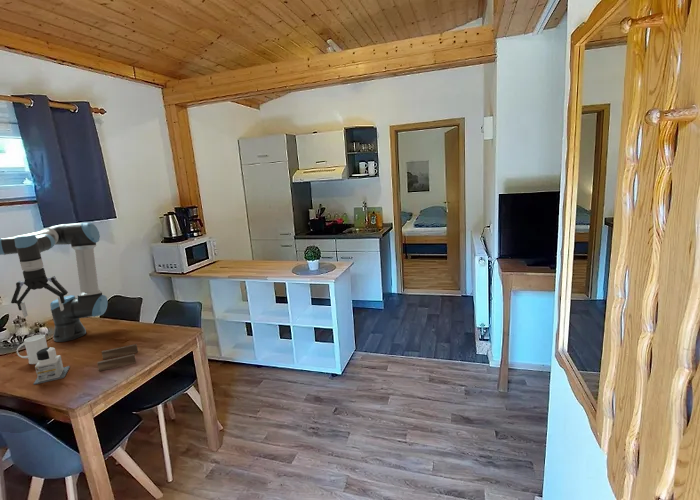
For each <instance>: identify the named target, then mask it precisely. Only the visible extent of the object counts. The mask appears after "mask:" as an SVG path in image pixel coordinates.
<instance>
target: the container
mask: <svg viewBox="0 0 700 500" xmlns="http://www.w3.org/2000/svg"><path fill="white" fill-rule="evenodd" d="M47 347H48V346H47ZM36 354H37V358H38V361H39V362H38V363H37V364H35V366H34V369H35V373H36V376H37V377H38V381H39V382H40V381H45V380H49V379H54V378H58V377H60V375H61V374H62V372H63V370H64V368H63V367H64V364H63V359H62V355H60V354H59V355H57V351H56V348H55V347H51V346H49V347H48V348H44V349H41V350H40V351H38V352H37V353H36ZM37 377H36V378H37Z"/></svg>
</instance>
